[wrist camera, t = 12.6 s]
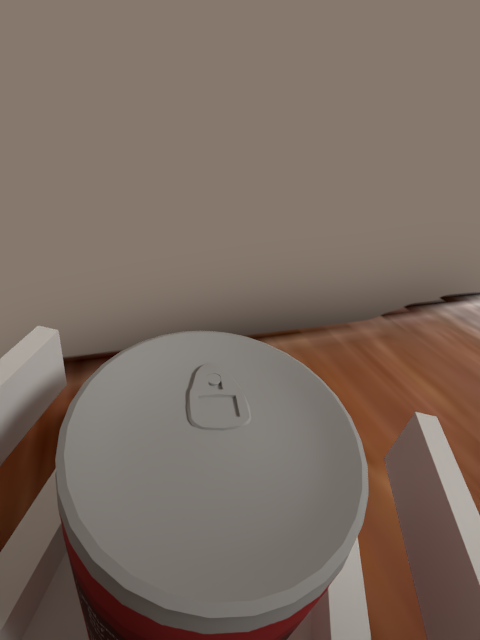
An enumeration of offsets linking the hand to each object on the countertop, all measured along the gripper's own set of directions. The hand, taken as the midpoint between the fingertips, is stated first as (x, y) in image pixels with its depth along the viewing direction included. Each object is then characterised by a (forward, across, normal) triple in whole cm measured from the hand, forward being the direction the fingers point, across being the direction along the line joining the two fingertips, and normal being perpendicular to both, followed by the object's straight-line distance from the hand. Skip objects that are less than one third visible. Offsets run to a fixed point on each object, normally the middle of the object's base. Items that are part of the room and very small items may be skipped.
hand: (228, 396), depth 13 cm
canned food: (-3, 0, -9) cm, 9 cm away
